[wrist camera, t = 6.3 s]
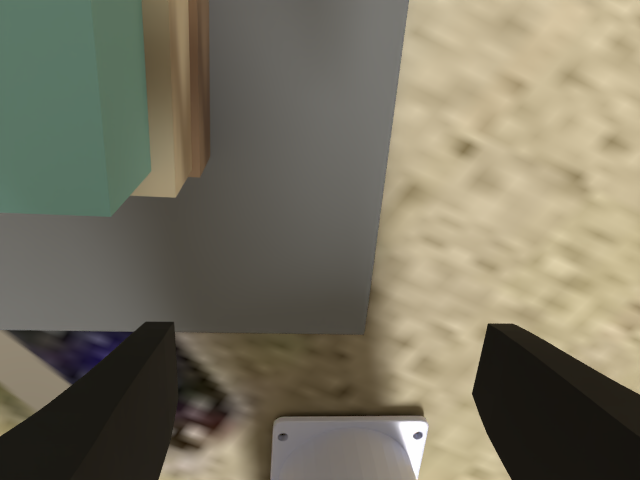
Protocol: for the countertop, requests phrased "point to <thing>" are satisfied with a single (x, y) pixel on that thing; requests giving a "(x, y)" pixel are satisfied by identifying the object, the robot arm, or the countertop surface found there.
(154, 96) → the tower mid
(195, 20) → the tower base
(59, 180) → the teal block
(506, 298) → the countertop surface
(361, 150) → the mat
